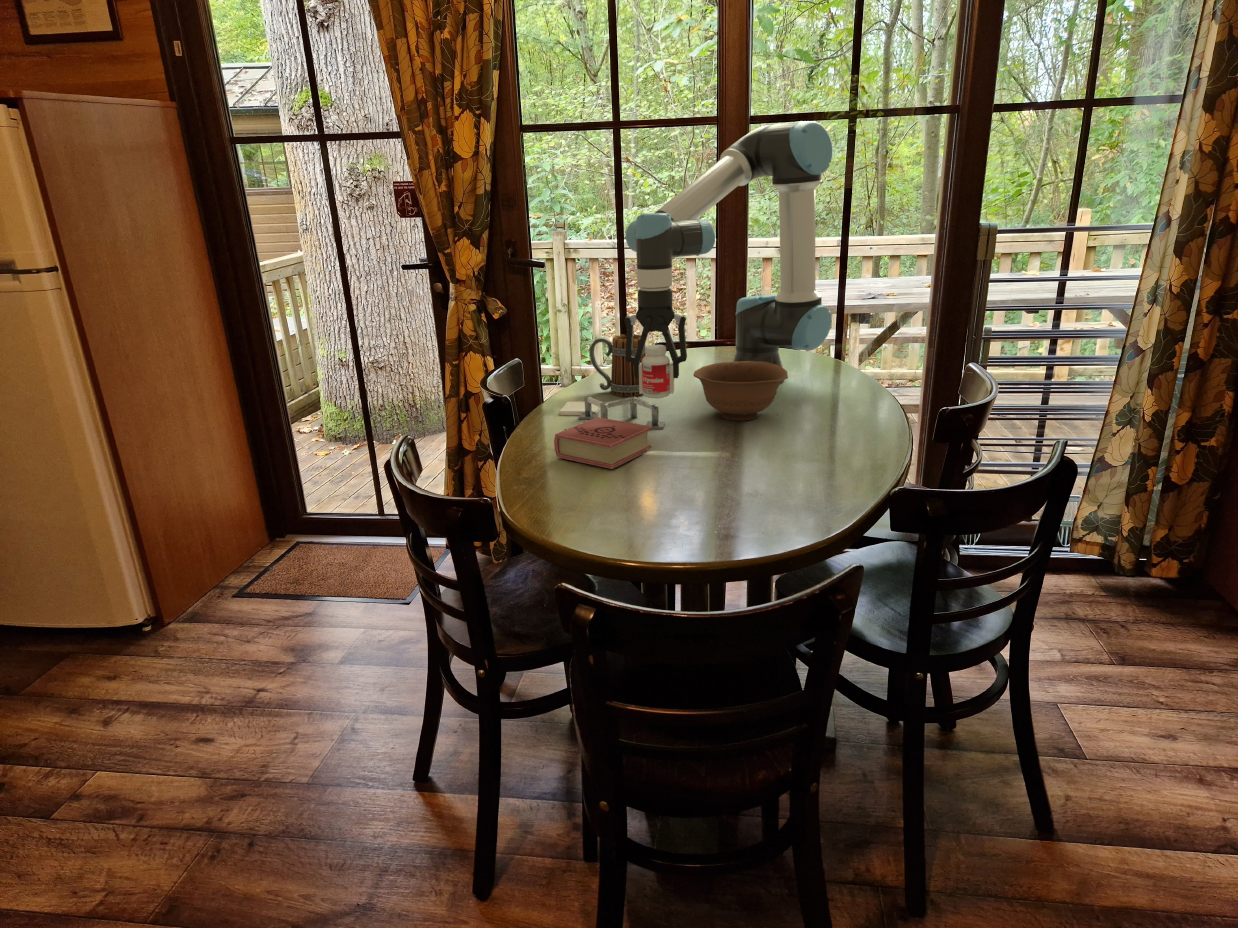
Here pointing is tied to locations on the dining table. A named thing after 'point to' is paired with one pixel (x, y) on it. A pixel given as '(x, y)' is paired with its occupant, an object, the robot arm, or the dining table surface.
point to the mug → (619, 366)
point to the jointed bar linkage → (631, 400)
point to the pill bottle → (656, 372)
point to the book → (602, 442)
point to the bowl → (740, 387)
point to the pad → (577, 408)
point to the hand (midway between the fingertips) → (657, 392)
